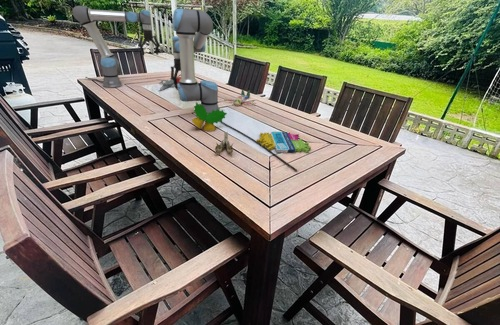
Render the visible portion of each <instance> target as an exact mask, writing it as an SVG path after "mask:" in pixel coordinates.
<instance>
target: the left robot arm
mask: <svg viewBox="0 0 500 325" xmlns="http://www.w3.org/2000/svg"><path fill="white" fill-rule="evenodd" d="M72 15H73V17H74V19H75V20H76V21H78V22H79V23H80V25H81V27H84V28H85V30H86V31H87V33H88V35H89V36H90V38H91V40H92V42H93V44H94V46H95V47H96V48H97V50H98V52H99V54H100V56H101V57H100V65H101V70H102V75H103V81H101V80H99V79H97V78H92V80H94V81H97V82H99V83H101V84H102V86H103V87H104V88H111V89H112V88H120V87H122V86H123V83H122V82H121V80H120V78H119V72H118V70H119V68H120V65H121V64H120V61H119V59H118V58H116V56H115V54H114V53H113V52H111V49H110V48H109V46H108V44H107V43H106V41H105V39H104V36H102V34H101V32H100V30H99V28H98V26H97V24H96V23H97V21H101V22H103V21H104V22H120V23H121V22H123V23H141V24H142V32H143V35H139V36H140V39H139V42H138V45H137V47H139V48H140V52H141V55H142V56H145V48H144V46H145V44H146V42H151V43H152V44H153V45H154V46H155V47H154V48H155V55H157V56H158V55H159V48H160V47H161V45H160V43H159V41H158V39H157V36H156V35H153V30H152V19H151V12H150V11H149V10H147V9H146V10H145V9H141V10H140V11H124V10H123V11H122V10H121V11H119V10H105V9H92V8H90V7H88V6H86V5H76V6H74V7H73V8H72ZM85 79H88V80H91V78H90V77H87V76H85Z"/></svg>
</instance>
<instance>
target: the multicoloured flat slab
mask: <svg viewBox="0 0 500 325" xmlns="http://www.w3.org/2000/svg"><path fill="white" fill-rule="evenodd" d="M299 136H300V135H299V134H298V133H296V134H294V133H291V132H287V131H270V132H264V133H263V132H260V133H259V139H258V138H257V139H256V141H257V142H258V143H260V144H261V145H262V146H264V147H266V148H267V149H268V150H270V151H272V150H273V149H275V152H276V153H283V154H285V153H287V154H288V153H290V154H293V153H296V152H298V153H301V152H305V153H310V151H311V150H312V149H311V148H312V146H309V142H304V141H303V139H302V138H299ZM262 146H261V147H262ZM268 150H267V151H268Z"/></svg>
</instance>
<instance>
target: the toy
mask: <svg viewBox="0 0 500 325" xmlns="http://www.w3.org/2000/svg"><path fill="white" fill-rule="evenodd" d="M240 92H241V93H240V95H238V96H237V97H235V99H233V98H230V99H228V98H227V97H226V96H225V97H224V98H223V101H224V102H233V103H232V104H233V105H235V106H242V103H243V104H247V105H252V106H255V105H256V104H257V103H256V102H254V101H253V100H252V101H251V102H250V101H248V100H246V99H248V98H250V97H251V90H250V89H249V90H248V91H247V92H246V93H245V91H244V89H242V90H241V91H240Z"/></svg>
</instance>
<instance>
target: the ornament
mask: <svg viewBox="0 0 500 325" xmlns="http://www.w3.org/2000/svg"><path fill="white" fill-rule="evenodd" d="M193 112H194V113H195V118H192V119H191V122H192V123H193V125H195V127H197V128H198V129H202V130H203V131H206V132H212V131H213V132H214V131H215V130H216V126H215V124H218V123H219V122H220V121H221V122H223V119H226V115H227V114H228V113H227V112H224V110H223V109H221V110H220V111H219V109H217V110H216V111H214V110H212V112H211V113H208V112H206V109H204V106H201V103H198V101H195V105H194V106H193ZM207 113H208V115H207ZM221 122H220V123H221ZM214 123H215V124H214Z"/></svg>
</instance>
